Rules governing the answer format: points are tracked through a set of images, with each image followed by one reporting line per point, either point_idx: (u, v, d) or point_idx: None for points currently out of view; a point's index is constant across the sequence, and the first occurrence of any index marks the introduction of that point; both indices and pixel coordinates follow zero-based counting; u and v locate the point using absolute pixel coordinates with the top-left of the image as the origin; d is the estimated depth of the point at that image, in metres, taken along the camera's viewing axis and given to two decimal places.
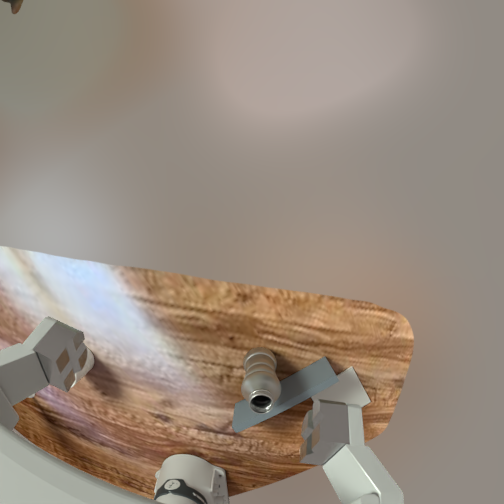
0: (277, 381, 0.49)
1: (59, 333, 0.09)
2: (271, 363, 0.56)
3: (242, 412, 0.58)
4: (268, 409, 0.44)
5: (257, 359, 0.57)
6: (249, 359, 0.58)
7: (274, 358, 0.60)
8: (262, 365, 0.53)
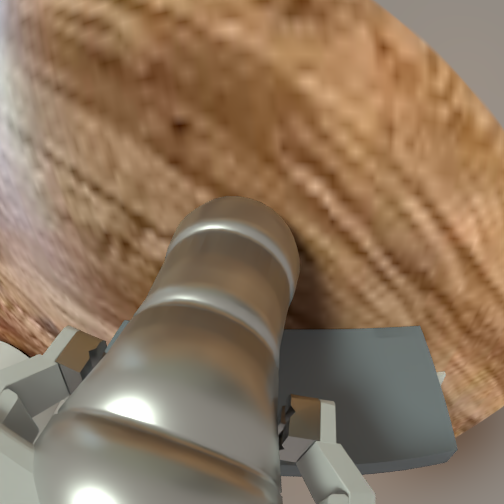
0: None
1: (81, 343, 0.09)
2: (280, 315, 0.12)
3: None
4: None
5: (224, 267, 0.11)
6: (193, 241, 0.12)
7: (296, 278, 0.15)
8: (230, 342, 0.08)
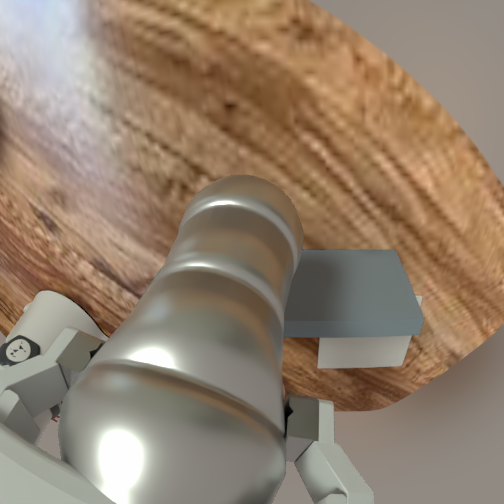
0: (276, 484, 0.06)
1: (82, 343, 0.09)
2: (283, 279, 0.13)
3: None
4: None
5: (230, 237, 0.12)
6: (201, 216, 0.14)
7: (299, 247, 0.16)
8: (235, 300, 0.09)
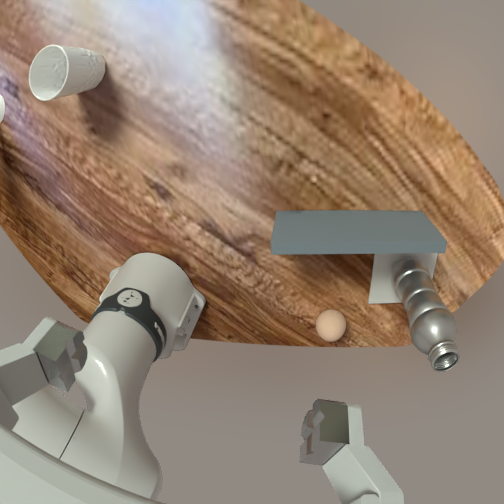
0: None
1: (59, 333, 0.09)
2: None
3: (290, 227, 0.41)
4: (444, 367, 0.31)
5: (426, 281, 0.40)
6: (413, 275, 0.41)
7: None
8: (438, 296, 0.37)
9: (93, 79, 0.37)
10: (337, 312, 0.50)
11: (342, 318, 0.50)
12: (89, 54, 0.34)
